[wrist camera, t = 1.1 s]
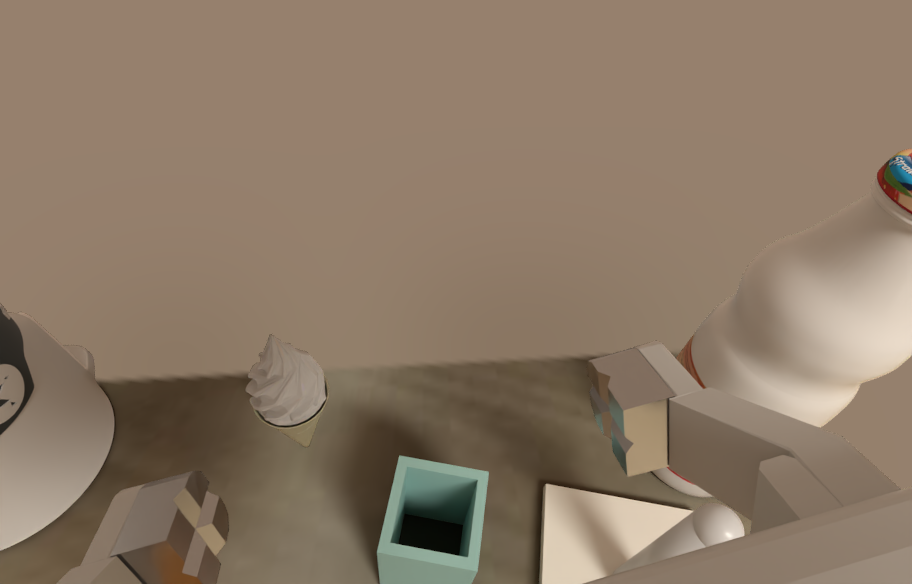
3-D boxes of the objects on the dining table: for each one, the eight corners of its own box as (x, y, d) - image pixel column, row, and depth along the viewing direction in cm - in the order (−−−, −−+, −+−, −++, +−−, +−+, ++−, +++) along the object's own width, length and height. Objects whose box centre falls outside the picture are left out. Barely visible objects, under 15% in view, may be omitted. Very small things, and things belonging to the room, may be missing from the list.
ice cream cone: (285, 410, 43) (246, 294, 32) (345, 420, 43) (328, 307, 32) (263, 470, 40) (210, 364, 28) (328, 480, 40) (302, 378, 28)
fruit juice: (612, 404, 46) (798, 124, 25) (704, 387, 48) (948, 114, 27) (663, 512, 41) (960, 267, 19) (765, 487, 43) (1135, 241, 21)
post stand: (534, 675, 33) (610, 644, 22) (543, 488, 41) (601, 391, 29) (724, 713, 33) (904, 701, 21) (696, 516, 41) (816, 429, 29)
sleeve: (380, 587, 36) (376, 552, 29) (398, 504, 39) (399, 455, 32) (461, 603, 35) (477, 571, 28) (472, 517, 39) (488, 471, 32)
